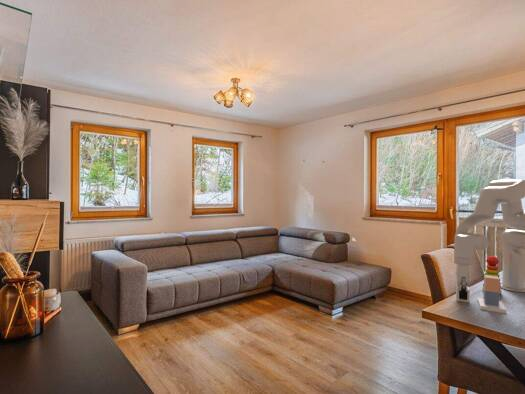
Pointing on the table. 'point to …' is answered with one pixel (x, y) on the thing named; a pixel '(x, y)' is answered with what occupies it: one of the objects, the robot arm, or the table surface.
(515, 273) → the robot arm
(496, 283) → the terracotta brick
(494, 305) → the tower base
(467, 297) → the cream brick
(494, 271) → the stacking toy
